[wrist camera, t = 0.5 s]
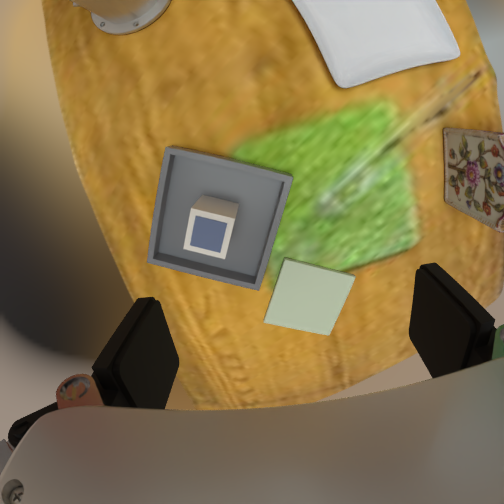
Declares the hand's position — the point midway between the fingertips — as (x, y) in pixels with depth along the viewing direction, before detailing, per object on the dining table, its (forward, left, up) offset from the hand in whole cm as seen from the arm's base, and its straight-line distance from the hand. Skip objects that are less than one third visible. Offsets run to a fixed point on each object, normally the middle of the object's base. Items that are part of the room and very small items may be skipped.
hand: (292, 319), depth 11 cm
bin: (-5, -7, -31) cm, 33 cm away
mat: (+11, -16, -31) cm, 37 cm away
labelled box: (-5, -7, -31) cm, 32 cm away
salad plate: (+7, +28, -32) cm, 43 cm away
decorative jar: (+29, +12, -32) cm, 45 cm away
